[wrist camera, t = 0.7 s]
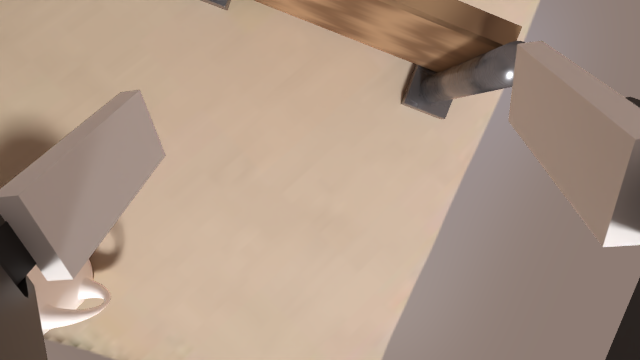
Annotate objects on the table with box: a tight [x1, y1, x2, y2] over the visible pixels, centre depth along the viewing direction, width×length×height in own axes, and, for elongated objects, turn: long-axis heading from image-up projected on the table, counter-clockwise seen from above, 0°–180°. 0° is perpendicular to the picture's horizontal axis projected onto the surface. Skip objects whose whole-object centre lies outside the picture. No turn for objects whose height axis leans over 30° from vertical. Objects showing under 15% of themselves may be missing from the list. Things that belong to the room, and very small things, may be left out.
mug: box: [27, 259, 111, 335], centre depth 37 cm, size 9×12×11 cm
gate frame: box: [201, 0, 525, 119], centre depth 32 cm, size 28×7×17 cm, turn 70°
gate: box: [255, 0, 522, 73], centre depth 33 cm, size 22×2×13 cm, turn 70°
